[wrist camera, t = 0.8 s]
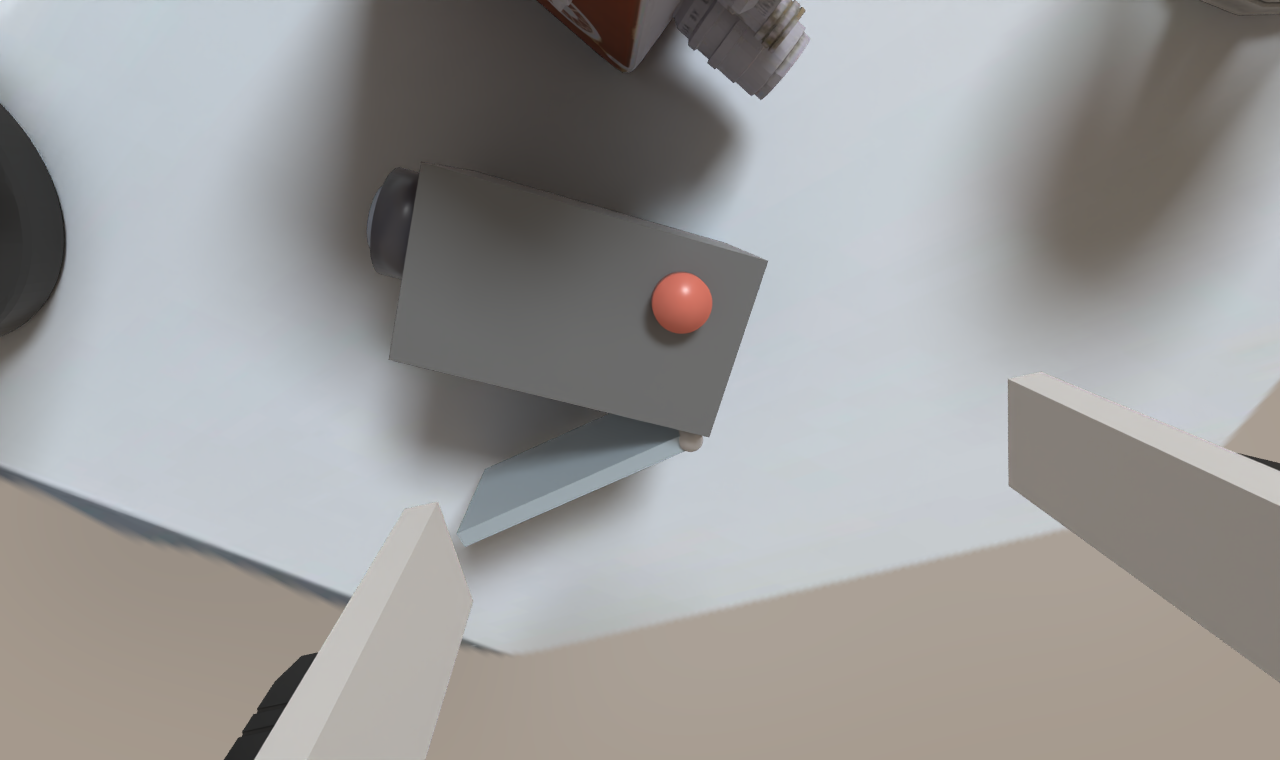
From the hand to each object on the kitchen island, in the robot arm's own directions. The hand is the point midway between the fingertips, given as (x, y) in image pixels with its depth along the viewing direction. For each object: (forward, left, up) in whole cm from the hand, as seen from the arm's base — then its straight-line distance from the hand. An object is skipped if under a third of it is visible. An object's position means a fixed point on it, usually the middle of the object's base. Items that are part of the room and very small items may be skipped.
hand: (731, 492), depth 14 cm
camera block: (-6, +1, -21) cm, 22 cm away
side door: (-2, -8, -20) cm, 22 cm away
